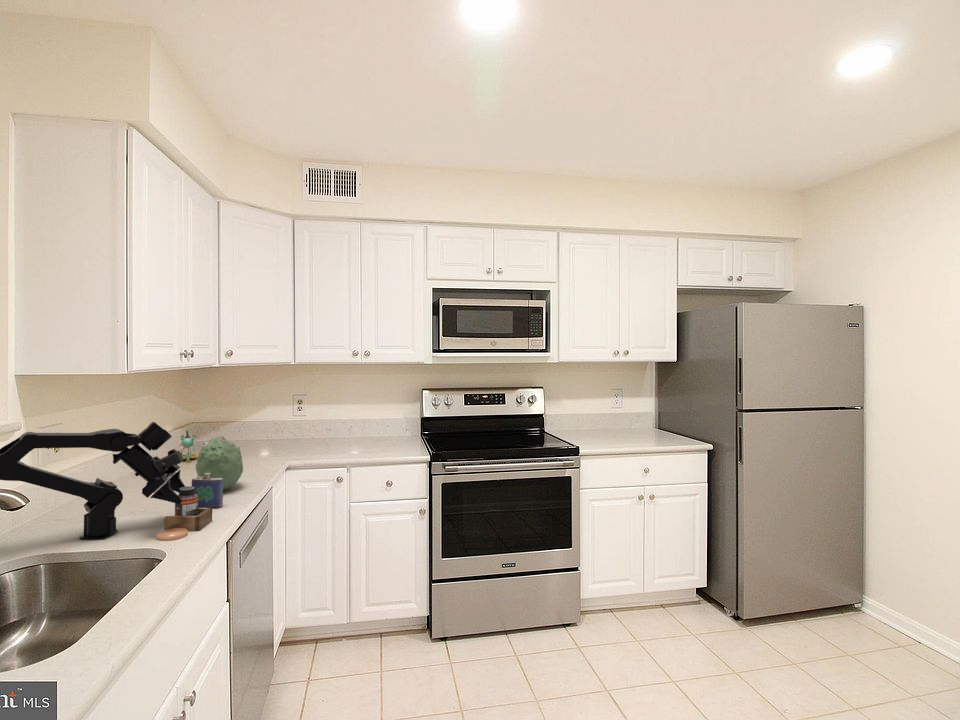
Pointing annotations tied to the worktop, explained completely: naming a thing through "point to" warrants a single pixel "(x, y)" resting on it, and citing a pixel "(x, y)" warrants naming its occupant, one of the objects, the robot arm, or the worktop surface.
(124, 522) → the worktop surface
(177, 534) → the tan flat disc
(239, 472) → the green bumpy egg shape
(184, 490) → the supplement bottle
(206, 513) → the wooden box
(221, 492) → the flask
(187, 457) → the teal round figure
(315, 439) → the worktop surface
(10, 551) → the worktop surface
